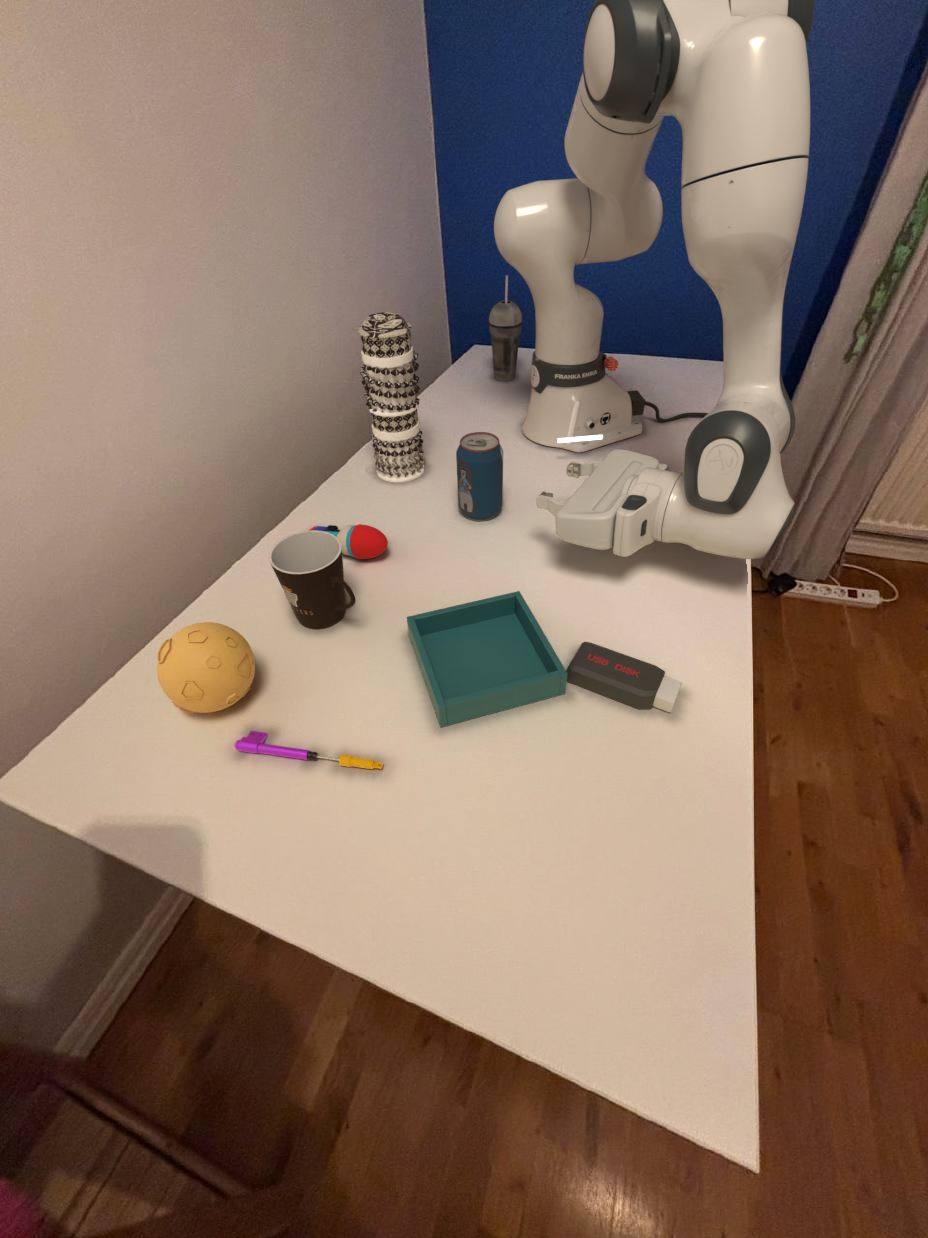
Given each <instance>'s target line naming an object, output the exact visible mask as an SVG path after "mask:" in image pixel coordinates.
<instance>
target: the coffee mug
mask: <svg viewBox="0 0 928 1238" xmlns="http://www.w3.org/2000/svg"><path fill="white" fill-rule="evenodd" d="M343 559H344V558H343V553H342V545H341V542H340V540H339V539H338V538H337V537H336V536H334V535H333V534H330V533H328V532H324V531H317V530H310V529H308V530H302V531H298V532H295V533H292V534H288V535H286V536H285V537H283V538H281V539H280V540H279V541H277V542H276V543H274V545H273V546H272V547H271V549H270V551H269V554H268V560H269V563H270V566H271V568H272V569H273V572H274V574H275V576H276V578H277V580H278V582H279V584H280V586H281V588H282V590H283V592H284V595H285V597H286V599H287V601H288V603H289V605H290V607H291V609H292V611H293V614H294V615H295V617H296V619H297V621H298V623H299V624H300V625H301V626H302V627H304V628H306V629H310V630H324V629H328V628H330V627H333V626H335V625H336V624H338V623H339V622H340V621H342V620H343V619H344V617H345V615H346V613H347V610H349V609H350V608H352V607H353V606H355V604H356V597H355V596H356V595H355V594H354V591H353V589H352V588H351V587H350V585H349V584H348V582H346V581H345V574H344V560H343ZM346 592H347V594H348V597H349V600H350V601H349V603H348V604H347V603H346Z"/></svg>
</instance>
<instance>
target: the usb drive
mask: <svg viewBox="0 0 928 1238" xmlns="http://www.w3.org/2000/svg"><path fill="white" fill-rule="evenodd" d="M565 670H566V672H567V673H568V675H567V682H566V683H569V684H572V685H574V686H577V687H579V688H582V689H585V690H587V691H590V692H592V693H595V694H598V695H600V696H603V697H605V698H608V699H611V700H612V701H615V702H617V703H621V704H623V705H625V706H629V707H631V708H633V709H637V710H652V709H653V707H654V708H656V709H659V710H662V711H664V712H667V713H672V711H673V708H674V707H675V703H676V700H677V698H678V696H679V693H680V690H681V686H682V685H683V682H682V681H680V680H677V679H674V678H671V677H668V676H665V675H666V671H665V670H664V669H662V668H660V667H659V666H657V665H655V664H652V663H651V662H647V661H644V660H641V659H638V658H637V657H636V658H635V657H632V656H630V655H627V654H624V653H622V652H618V651H617V650H614V649H610V648H607V647H604V646H601V645H600V644H596V643H593V642H591V641H583V642H582V643H581V644H580V645H579V647H578V649H577V651H576V652H575V654H574V656H573V658H572V659H571V661H570V663H569V665H568V666H567V668H566V669H565Z"/></svg>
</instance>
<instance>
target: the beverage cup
mask: <svg viewBox="0 0 928 1238" xmlns="http://www.w3.org/2000/svg"><path fill="white" fill-rule="evenodd" d="M504 283H505V284H504V285H505V287H504V289H505V290H504V300H501V301H498V302H497V303H496V304H494V305H493V307H492V308H491V310H490V313H489V316H488V320H487V321H488V322H487V323H488V327H489V333H490V339H491V353H492V365H493V366H492V368H493V375H494V380H497V381H498V382H511V381H513V380H514V379H515V378H516V377H515V376H516V371H517V361H518V354H519V346H520V345H519V344H520V336H521V333H522V329H523V327H522V326H523V323H524V322H523V315H522V311H521V309H520V307H519V306H518V305H517V303H515V302H513V301H511V300H509V299H508V295H509V293H508V292H509V275H508V274H507V275H505V282H504Z"/></svg>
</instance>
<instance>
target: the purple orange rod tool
mask: <svg viewBox="0 0 928 1238" xmlns="http://www.w3.org/2000/svg"><path fill="white" fill-rule="evenodd" d="M267 738H268V733H267V732H262V731H255V730H250V731H249V733H248V734H247V735H246V736H242V737H241V739H238V740H236V741H235V742H234V749H235V750H236V751H237V750H238V752H245V753H250V754H257V755H258V754H265V755H271V756H276V757H277V756H278V757H285V758H292V759H297V760H305V761H309V760H311V761H317V760H318V759H324V760H331V761H337V762H338V766H339V767H340V766H341V767H349V768H351V767H354V768H361V769H367V770H374V769H377V770H378V769H379V770H382V769H383V767H384V762H381V761H375V759H372V758H365V757H357V756H354V755H351V754H343V753H342V754H340V755H339V758H338V757H332V756H325V755H319V753H318V752H317V751H311V750H309V749H304V748H298V747H289V746H283V745H277V744H269V743H264V742H265V740H266V739H267Z"/></svg>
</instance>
